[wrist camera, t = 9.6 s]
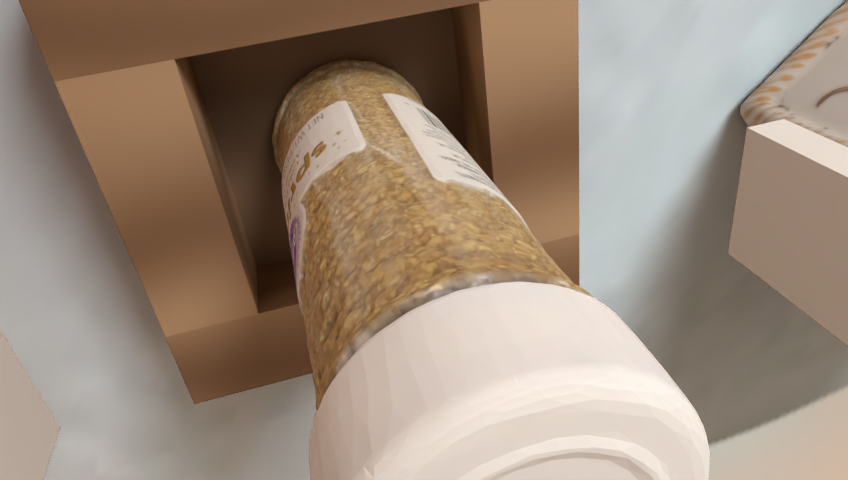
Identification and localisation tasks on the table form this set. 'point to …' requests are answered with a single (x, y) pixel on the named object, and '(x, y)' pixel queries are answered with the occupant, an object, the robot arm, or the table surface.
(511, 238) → the sprinkles bottle
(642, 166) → the table surface
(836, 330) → the robot arm
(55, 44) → the socket board
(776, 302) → the table surface
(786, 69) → the decorative jar
